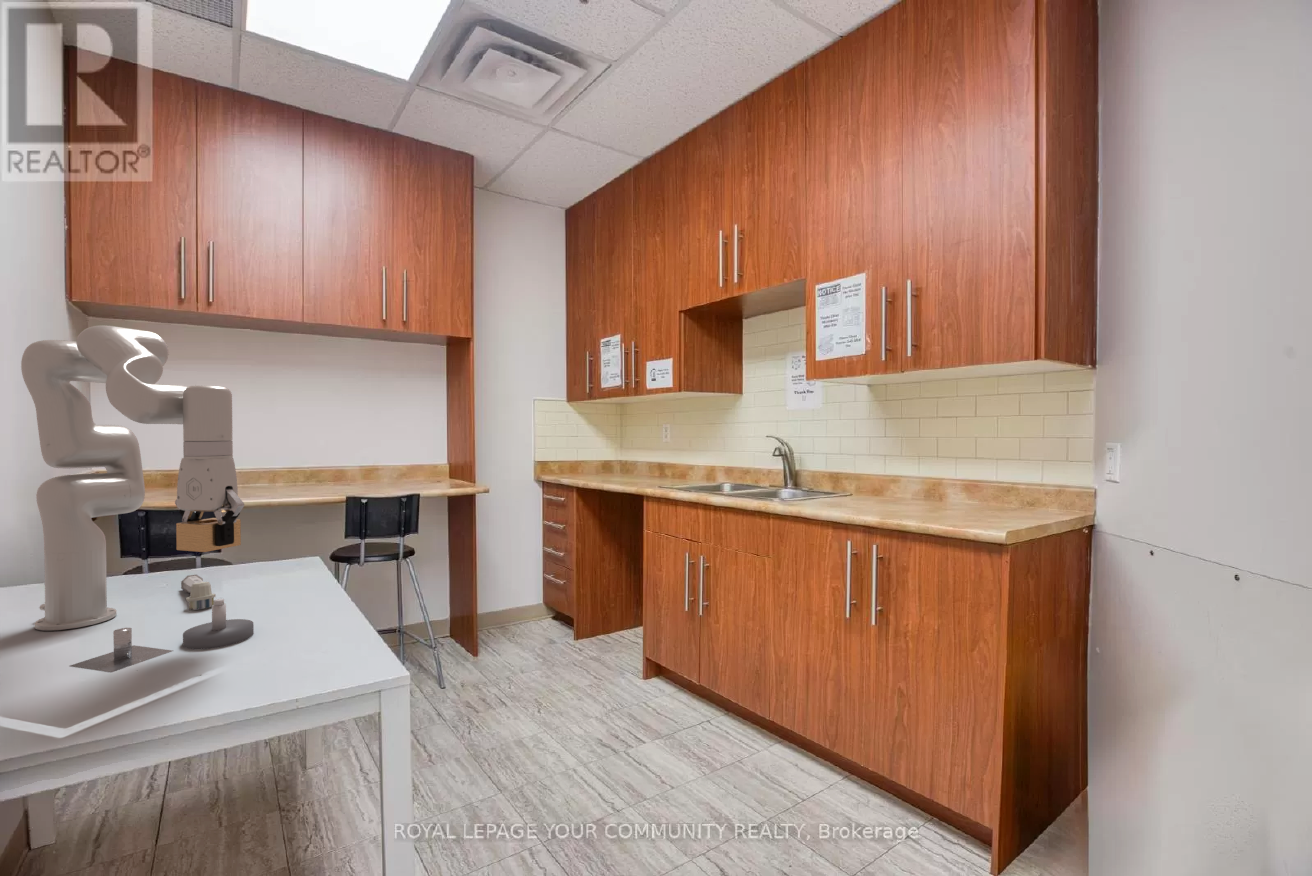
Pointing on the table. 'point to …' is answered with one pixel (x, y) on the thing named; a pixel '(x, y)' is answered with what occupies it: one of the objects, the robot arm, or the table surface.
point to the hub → (218, 630)
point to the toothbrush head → (197, 592)
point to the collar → (203, 535)
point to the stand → (121, 654)
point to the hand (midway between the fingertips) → (209, 543)
